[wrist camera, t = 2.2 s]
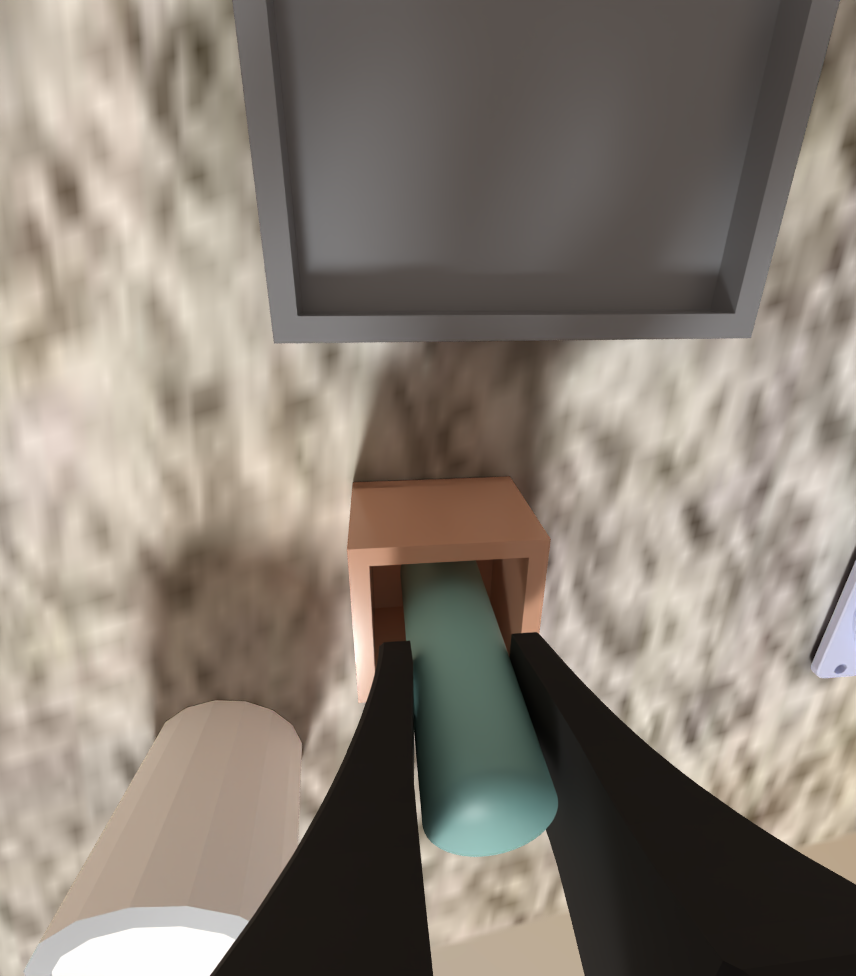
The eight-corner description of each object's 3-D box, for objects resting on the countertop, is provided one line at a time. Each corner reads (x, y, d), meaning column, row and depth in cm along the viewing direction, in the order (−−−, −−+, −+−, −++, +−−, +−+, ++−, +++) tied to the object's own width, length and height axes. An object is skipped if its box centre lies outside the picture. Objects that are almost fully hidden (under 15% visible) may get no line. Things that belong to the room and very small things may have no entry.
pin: (478, 536, 15) (565, 760, 8) (475, 600, 16) (550, 849, 9) (399, 539, 15) (421, 774, 8) (401, 604, 16) (422, 863, 9)
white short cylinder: (114, 698, 18) (-27, 934, 12) (305, 678, 19) (271, 894, 12) (163, 817, 21) (71, 1059, 15) (327, 797, 21) (309, 1021, 15)
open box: (509, 476, 16) (550, 539, 12) (499, 603, 18) (532, 689, 14) (352, 482, 15) (347, 549, 12) (361, 611, 17) (358, 702, 14)
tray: (814, -166, 10) (907, -256, 9) (703, 328, 15) (750, 338, 13) (225, -223, 9) (191, -341, 7) (286, 332, 13) (274, 343, 12)
